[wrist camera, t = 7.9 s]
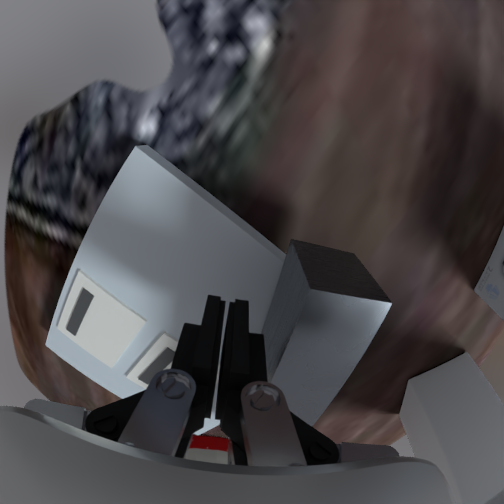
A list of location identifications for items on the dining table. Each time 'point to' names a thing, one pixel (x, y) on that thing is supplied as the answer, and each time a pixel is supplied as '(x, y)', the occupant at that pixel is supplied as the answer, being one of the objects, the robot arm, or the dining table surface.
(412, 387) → the milk carton
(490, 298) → the light bulb box
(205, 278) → the label board
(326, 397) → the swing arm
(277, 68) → the dining table surface
